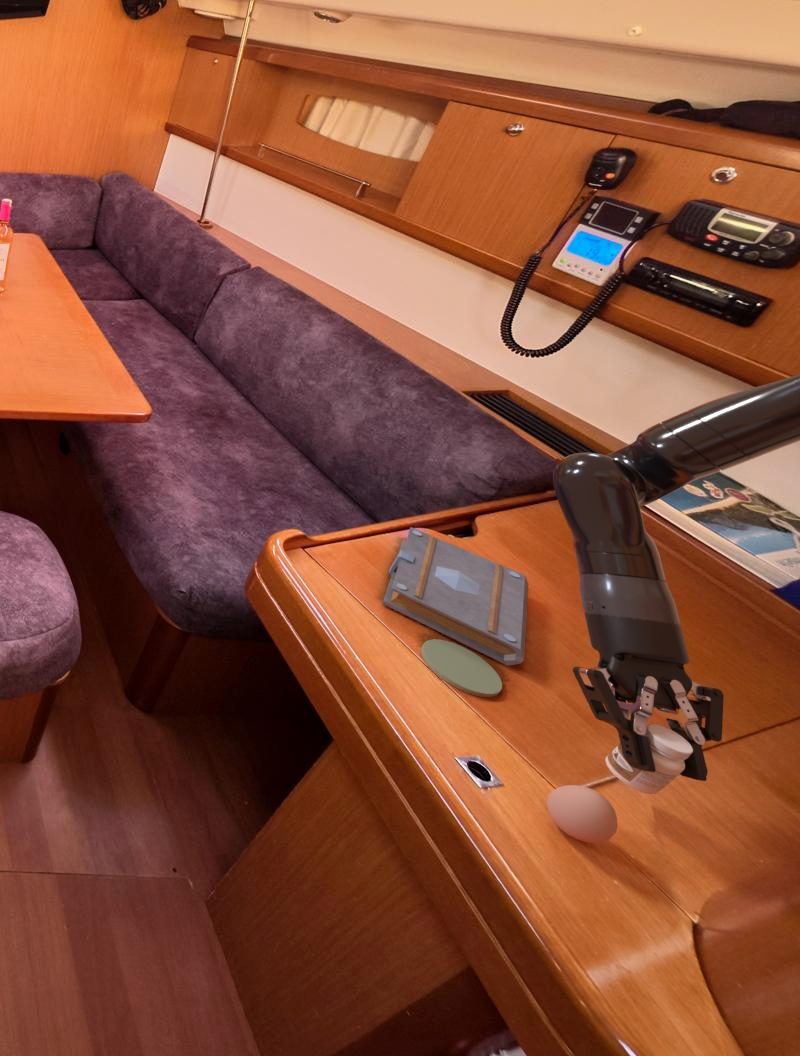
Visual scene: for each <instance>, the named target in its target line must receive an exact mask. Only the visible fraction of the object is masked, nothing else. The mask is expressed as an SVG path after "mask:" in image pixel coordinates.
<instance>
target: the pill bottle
mask: <svg viewBox="0 0 800 1056" xmlns="http://www.w3.org/2000/svg"><path fill="white" fill-rule="evenodd" d="M642 736H646V737H648V739H649V743H650V747H651V752H652V756H653V760H654V765H655V769H656V770H655V772H648V771H643V770H640V769H637V768H634V767H631V766H630V765H629V763H628V761H626V759H625V758H624V756H623V752H622V748H621V743H620V742H619V743H618V745H617V746H616V747H615V748H614V749H613V750H612V751H611V752H610V753H609V754H608V755H607V756H606V757H605V764H606V766H607V768H608V770H609V771H610V772H611V773H612V774H613V775H614V776H615V777H616V778H617V779H618V780H619V781H621V782H622V783H623V784H625V785H626V786H628V787H629V788H632V789H633V790H635V791H638V792H640V793H643V794H647V795H657V794H658V793H660V792H661V791H662V790H663V789H665V788H666V786H668V785H669V784H670V783H671V782H672V781H673V780H675V779H676V778H677V777H678V776H679V775H680V773H681V772H682V771H683V770H684V769H685V762H684V760H685V759H687V758H688V757H689V756H690V755H691V754H692V753H693V748H692V746H691V745H690V744H689V742H688V741H686V740H685V739H684V738H683V737H682V736H680V735H679V734H678V733H676V732H674V731H673V730H671V729H669V728H667V727H666V726H665V725H661V724H658V723H650V724H647V726H646V733H645V735H642Z"/></svg>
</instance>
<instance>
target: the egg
mask: <svg viewBox="0 0 800 1056" xmlns="http://www.w3.org/2000/svg"><path fill="white" fill-rule="evenodd" d="M546 807H547V811H548V815H549V816H550V818H551V820H552V821H553V823H554V824H555V825H556V826H557V828H559V829H560V830H561V831H563V832H564V833H565V834H567V835H568V836H569V837H571V838H573V839H575V840H578V841H581V842H584V843H588V844H589V843H590V844H601V843H605V842H607V841H609V840H611V839H612V838H613V837H614V835H616V832H617V830H618V816H617V813H616V810H615V808H614V807H613V805H612V803H610V801H609V800H608V799H607V798H605V796H604V795H602V794H601V793H599V792H598V791H596V790H595V789H592V788H590V787H587V786H583V785H578V784H568V785H561V786H559V787H556V788H555V789H553V790H552V791H551V792H550V793H549V795H548V796H547V799H546Z"/></svg>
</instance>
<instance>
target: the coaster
mask: <svg viewBox="0 0 800 1056" xmlns="http://www.w3.org/2000/svg"><path fill="white" fill-rule="evenodd" d="M420 655H421V658H422V660H423V661H424V662H425V664H426V665H427V667H428V668H429V669H430V670H431V671H432V672H433V673H434V674H435V675H437V677H439V678H440V679H442V680H443V681H444V682H446V683H447V684H449V685H451V686H452V687H454V688H456V689H458V690H459V691H461V692H464V693H467V694H469V695H472V696H475V697H476V696H477V697H481V698H493V697H497V696H498V695H499V694H500V693H501V691H502V690H503V681H502V679H501V676H500V675H499V674H498V672H497V671H496V670H495V669H494V668H493V667H492V666H491V664H489V663H488V662H487V661H486V660H485V659H483V658H482V657H480V656H479V655H478V654H476V653H475V652H473V651H471V650H470V649H468V648H466V647H464V646H461V645H459V644H457V643H454V642H451V641H448V640H443V639H437V638H434V639H429V640H428V639H427V640H426V641H424V643H423V644H422V646H421V648H420Z"/></svg>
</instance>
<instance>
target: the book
mask: <svg viewBox="0 0 800 1056" xmlns="http://www.w3.org/2000/svg"><path fill="white" fill-rule="evenodd" d="M388 576H390V579H389V582H388V584H387V585H388V586H387V589H386V592H385V595H384V598H383V601H382V605H384V606H386V607H388V608H390V609H392V610H394V611H396V612H398V613H401V614H403V616H406V617H408V618H410V619H413V620H414V621H416V622H418V623H420V624H423V625H425V626H427V627H429V628H431V629H432V630H434V631H437V632H439V633H440V634H443V635H445V636H447V637H449V638H450V639H453V640H455V641H457V642H459V643H461V644H463V645H465V646H466V647H469V648H470V649H473V650H475V651H477V652H479V653H481V654H482V655H485V656H487V657H489V658H491V659H493V660H495V661H497V662H499V663H501V664H504V665H505V666H507V667H509V666H515V665H519V664H522V663H523V662H524V661H525V657H526V655H525V654H526V638H527V637H526V636H527V635H526V634H527V615H528V598H529V597H528V595H529V581H528V579H527V577H526V574H524V573H521V572H518V571H517V570H515V569H512V568H509V567H507V566H504V565H502V564H500V563H498V562H495V561H492V560H491V559H487V558H485V557H483V556H480V555H478V554H476V553H474V552H471V551H470V550H466V549H464V548H462V547H459V546H457V545H456V544H455V545H454V544H452V543H450V542H448V541H445V540H444V539H443V540H442V539H441V538H438V537H436V536H433V535H431V534H428V533H426V532H424V531H421V530H418V529H416V528H414V527H412V526H410V527H409V530H408V534H407V537H406V539H402V541H401V544H400V548H399V551H398V554H397V555H396V557H395V558H394V560H393V562H392V564H391V566H390V568H389V571H388Z"/></svg>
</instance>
